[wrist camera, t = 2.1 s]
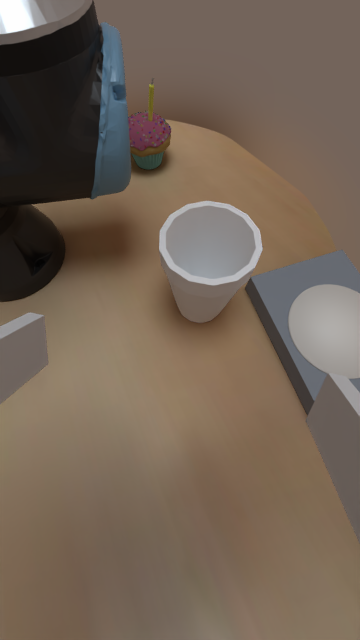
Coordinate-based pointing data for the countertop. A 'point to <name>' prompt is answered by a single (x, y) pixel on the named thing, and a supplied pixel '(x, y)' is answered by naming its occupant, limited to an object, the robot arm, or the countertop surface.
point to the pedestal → (312, 320)
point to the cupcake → (148, 136)
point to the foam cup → (208, 256)
